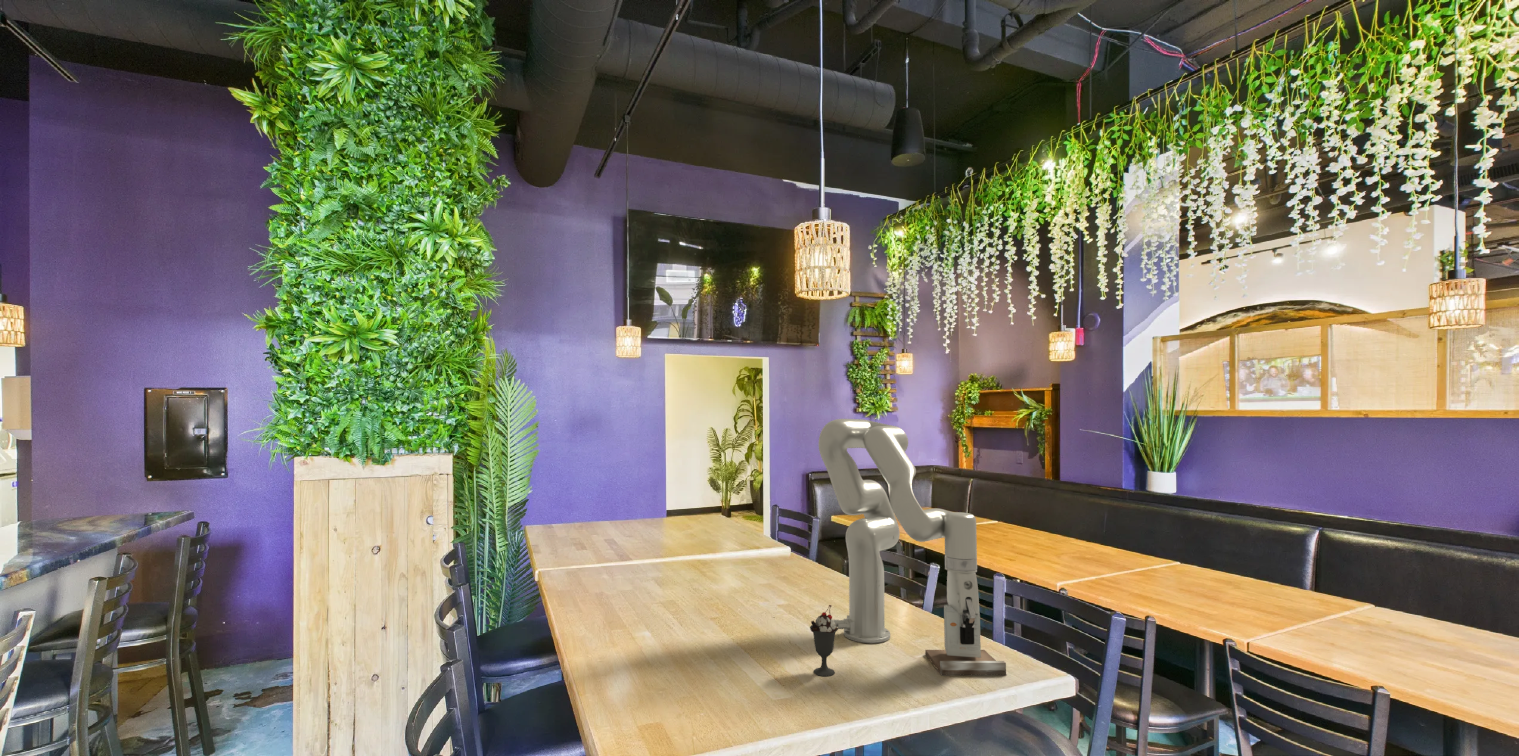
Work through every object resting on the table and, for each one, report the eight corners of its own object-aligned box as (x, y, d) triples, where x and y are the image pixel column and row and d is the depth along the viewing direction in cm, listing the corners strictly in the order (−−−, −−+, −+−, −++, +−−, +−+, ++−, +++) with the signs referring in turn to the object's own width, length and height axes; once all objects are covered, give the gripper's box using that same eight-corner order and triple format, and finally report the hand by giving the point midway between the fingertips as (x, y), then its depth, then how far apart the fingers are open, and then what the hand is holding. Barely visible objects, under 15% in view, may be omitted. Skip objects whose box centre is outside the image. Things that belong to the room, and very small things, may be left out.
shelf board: (941, 675, 144) (941, 662, 144) (925, 654, 157) (925, 643, 157) (1006, 675, 144) (1005, 662, 144) (984, 654, 157) (984, 643, 157)
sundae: (841, 668, 147) (841, 603, 148) (835, 679, 141) (835, 611, 142) (813, 664, 149) (814, 600, 150) (806, 675, 143) (807, 608, 144)
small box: (977, 650, 153) (977, 606, 154) (981, 658, 148) (980, 613, 149) (944, 647, 155) (943, 604, 156) (946, 655, 150) (945, 610, 150)
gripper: (989, 572, 145) (991, 651, 143) (963, 556, 162) (964, 627, 160) (957, 572, 144) (959, 651, 143) (934, 556, 162) (935, 627, 160)
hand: (961, 638), depth 152 cm, fingers closed on small box, 6 cm apart
